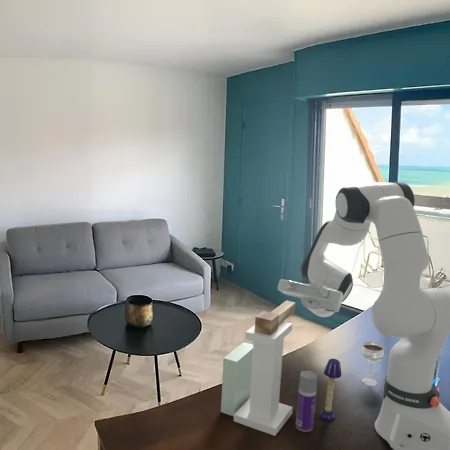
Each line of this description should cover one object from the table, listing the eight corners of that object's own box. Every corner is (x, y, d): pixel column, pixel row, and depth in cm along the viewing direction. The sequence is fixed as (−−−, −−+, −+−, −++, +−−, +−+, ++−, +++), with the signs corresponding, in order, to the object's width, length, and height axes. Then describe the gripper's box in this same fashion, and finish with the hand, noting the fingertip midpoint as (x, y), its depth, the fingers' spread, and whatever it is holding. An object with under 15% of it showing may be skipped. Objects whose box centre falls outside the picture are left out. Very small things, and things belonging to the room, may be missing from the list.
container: (313, 433, 135) (317, 380, 132) (294, 430, 136) (299, 377, 133) (313, 423, 139) (318, 371, 136) (296, 420, 140) (300, 369, 137)
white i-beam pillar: (292, 413, 143) (299, 325, 138) (275, 435, 133) (282, 341, 127) (253, 400, 149) (258, 315, 143) (233, 421, 138) (238, 329, 133)
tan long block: (297, 312, 147) (298, 299, 146) (270, 335, 131) (271, 320, 130) (283, 309, 149) (284, 295, 148) (254, 331, 133) (255, 316, 132)
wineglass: (353, 380, 163) (357, 345, 160) (365, 374, 167) (369, 339, 165) (372, 389, 158) (377, 353, 156) (384, 382, 163) (389, 347, 160)
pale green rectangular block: (252, 396, 151) (256, 345, 148) (233, 416, 141) (236, 361, 137) (240, 392, 153) (243, 342, 149) (220, 411, 142) (223, 358, 139)
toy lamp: (324, 410, 146) (329, 355, 142) (339, 416, 143) (345, 360, 140) (316, 417, 142) (321, 361, 138) (332, 423, 139) (338, 366, 136)
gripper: (287, 281, 173) (274, 269, 161) (347, 294, 164) (338, 283, 152) (282, 299, 172) (269, 289, 160) (343, 313, 162) (333, 304, 151)
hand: (303, 286), depth 156 cm, fingers open, 8 cm apart
